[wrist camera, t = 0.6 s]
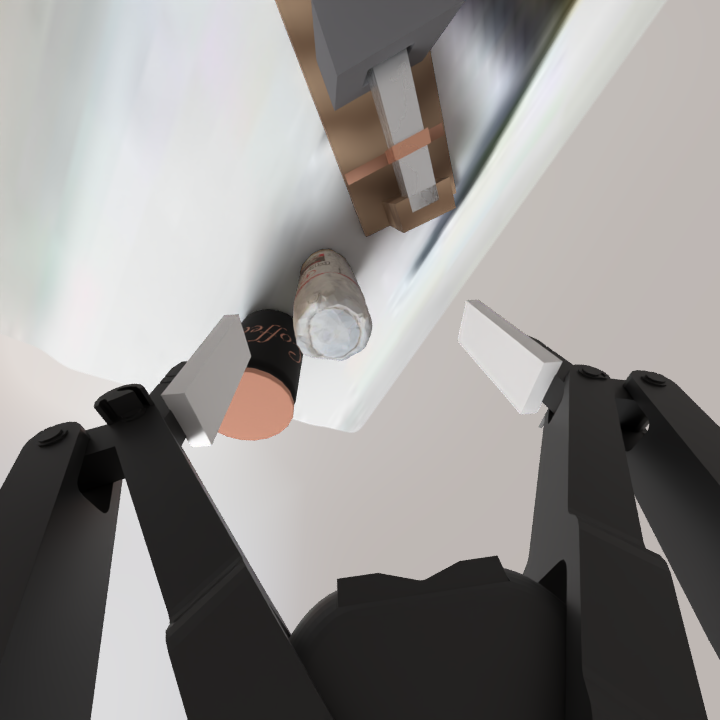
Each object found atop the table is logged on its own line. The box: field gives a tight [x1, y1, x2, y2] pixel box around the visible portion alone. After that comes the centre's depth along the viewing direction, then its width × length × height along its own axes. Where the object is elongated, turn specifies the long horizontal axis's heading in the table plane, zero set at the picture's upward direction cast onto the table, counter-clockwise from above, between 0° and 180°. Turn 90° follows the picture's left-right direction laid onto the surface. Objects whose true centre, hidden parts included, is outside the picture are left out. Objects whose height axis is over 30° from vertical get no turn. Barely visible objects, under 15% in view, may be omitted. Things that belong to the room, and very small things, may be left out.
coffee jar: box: [218, 309, 303, 440], centre depth 37 cm, size 11×11×18 cm
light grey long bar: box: [367, 48, 439, 212], centre depth 23 cm, size 21×4×4 cm, turn 24°
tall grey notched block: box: [311, 0, 465, 111], centre depth 22 cm, size 4×10×10 cm, turn 114°
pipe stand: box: [275, 0, 456, 237], centre depth 26 cm, size 24×13×10 cm, turn 24°
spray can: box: [293, 249, 372, 360], centre depth 32 cm, size 8×8×20 cm
